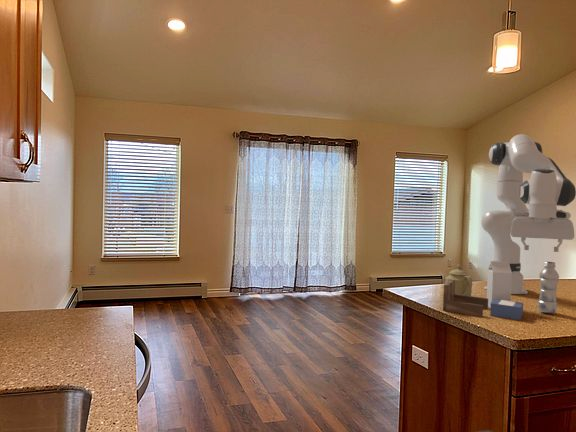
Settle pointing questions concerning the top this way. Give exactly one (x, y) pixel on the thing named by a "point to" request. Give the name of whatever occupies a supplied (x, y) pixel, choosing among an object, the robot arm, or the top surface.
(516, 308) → the navy carton
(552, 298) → the plastic bottle
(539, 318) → the top surface
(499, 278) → the milk carton
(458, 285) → the sugar bowl
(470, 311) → the stand
